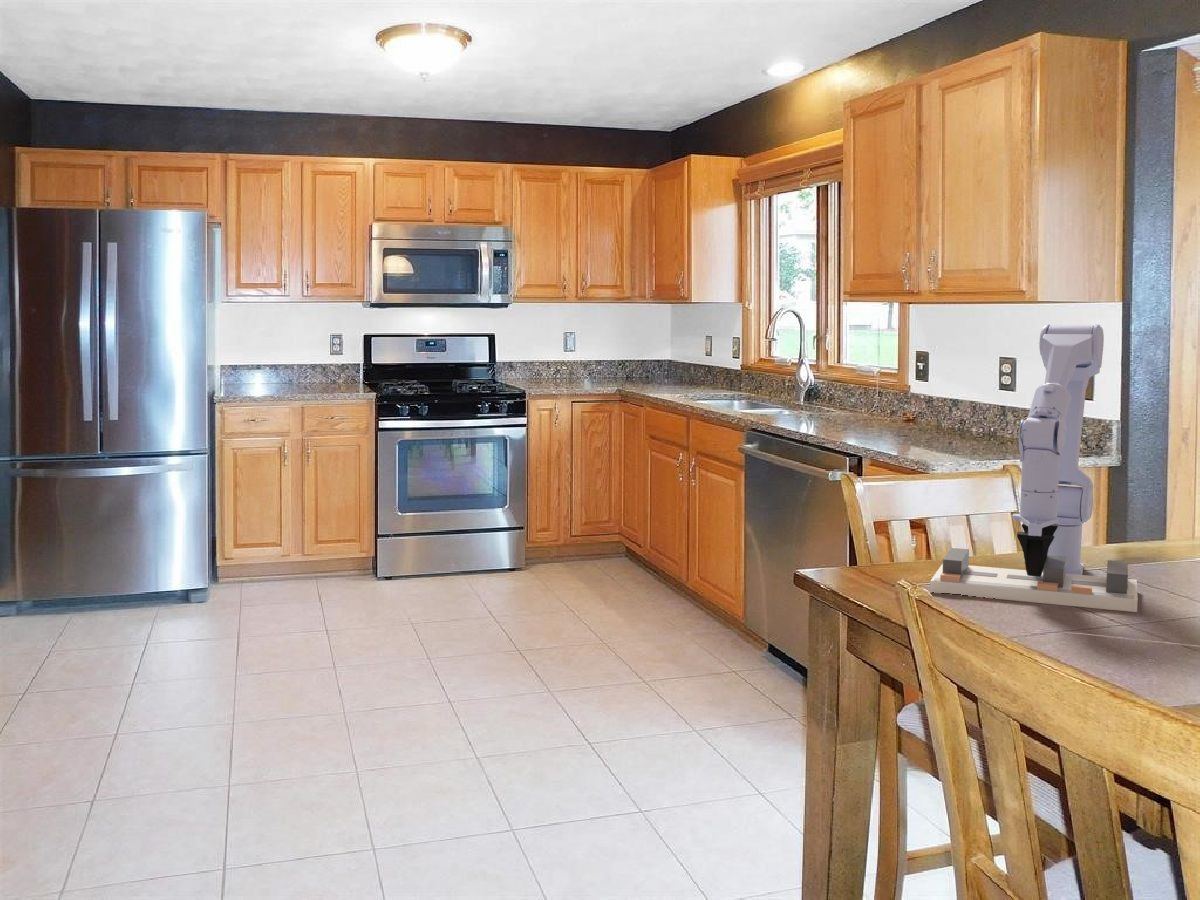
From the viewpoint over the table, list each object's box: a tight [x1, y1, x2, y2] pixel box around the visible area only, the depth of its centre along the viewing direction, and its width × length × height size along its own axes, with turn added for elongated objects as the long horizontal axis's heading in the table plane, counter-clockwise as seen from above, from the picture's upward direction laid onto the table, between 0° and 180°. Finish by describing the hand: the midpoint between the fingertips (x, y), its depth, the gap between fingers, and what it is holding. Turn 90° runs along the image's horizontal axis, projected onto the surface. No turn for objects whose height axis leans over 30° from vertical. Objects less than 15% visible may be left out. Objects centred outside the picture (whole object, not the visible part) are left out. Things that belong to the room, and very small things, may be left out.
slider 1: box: [942, 547, 970, 579], centre depth 190 cm, size 10×3×3 cm, turn 155°
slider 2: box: [1106, 559, 1129, 593], centre depth 179 cm, size 10×3×3 cm, turn 155°
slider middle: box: [1043, 555, 1066, 588], centre depth 183 cm, size 10×3×3 cm, turn 155°
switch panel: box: [929, 563, 1139, 613], centre depth 184 cm, size 14×31×3 cm, turn 65°
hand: (1035, 570), depth 185 cm, fingers open, 7 cm apart
